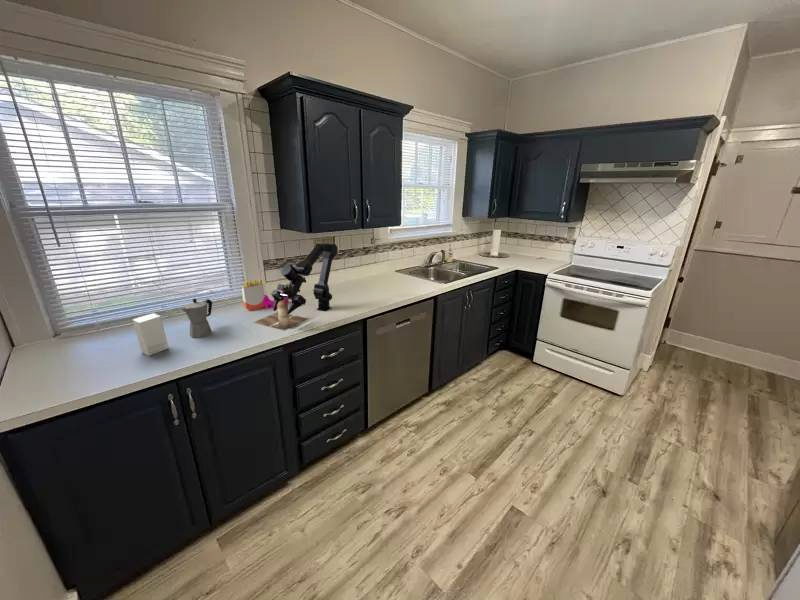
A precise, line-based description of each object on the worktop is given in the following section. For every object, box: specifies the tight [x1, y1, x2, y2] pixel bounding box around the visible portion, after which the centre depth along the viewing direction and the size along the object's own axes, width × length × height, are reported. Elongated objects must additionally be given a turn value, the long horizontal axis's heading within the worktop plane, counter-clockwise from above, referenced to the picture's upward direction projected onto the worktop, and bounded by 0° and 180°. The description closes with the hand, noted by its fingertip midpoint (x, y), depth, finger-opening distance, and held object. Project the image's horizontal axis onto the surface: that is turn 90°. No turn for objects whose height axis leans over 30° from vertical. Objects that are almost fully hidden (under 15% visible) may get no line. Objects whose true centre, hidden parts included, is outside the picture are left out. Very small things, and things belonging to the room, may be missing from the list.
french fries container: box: [241, 279, 265, 312], centre depth 186 cm, size 5×11×18 cm, turn 135°
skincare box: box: [132, 313, 169, 356], centre depth 138 cm, size 8×7×16 cm
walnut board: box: [252, 311, 310, 332], centre depth 172 cm, size 18×22×1 cm
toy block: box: [263, 292, 290, 310], centre depth 195 cm, size 15×6×8 cm, turn 134°
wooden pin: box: [277, 301, 290, 328], centre depth 163 cm, size 5×5×14 cm
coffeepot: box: [182, 298, 213, 339], centre depth 155 cm, size 15×9×18 cm, turn 162°
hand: (280, 312), depth 161 cm, fingers open, 9 cm apart
